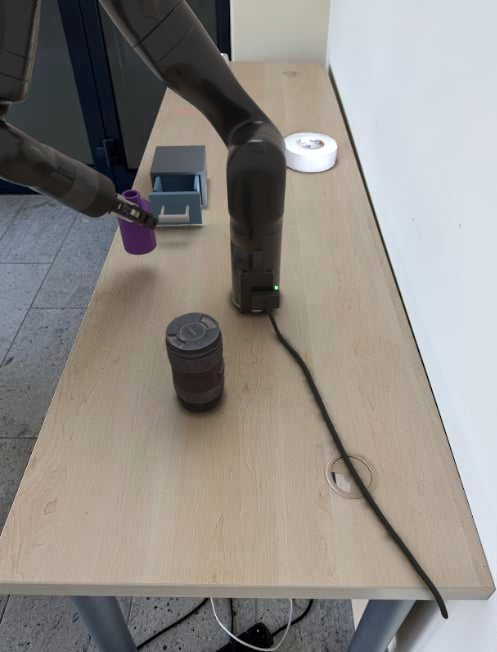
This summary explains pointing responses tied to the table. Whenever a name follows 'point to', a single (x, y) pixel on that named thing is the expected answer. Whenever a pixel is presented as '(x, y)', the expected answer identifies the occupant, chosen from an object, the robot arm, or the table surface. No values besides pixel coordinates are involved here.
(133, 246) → the bottle
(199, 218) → the drawer
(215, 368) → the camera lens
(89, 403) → the table surface
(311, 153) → the tape roll
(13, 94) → the robot arm
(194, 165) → the grey cabinet
